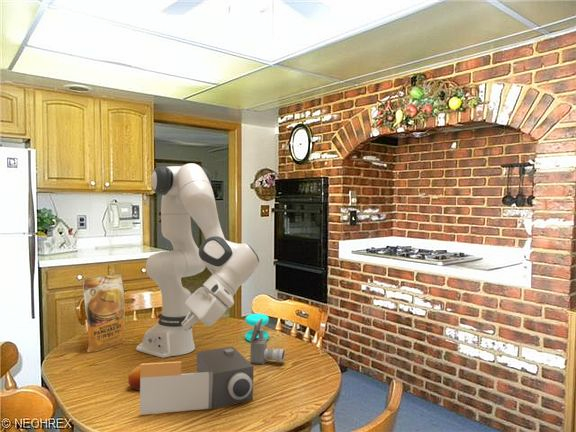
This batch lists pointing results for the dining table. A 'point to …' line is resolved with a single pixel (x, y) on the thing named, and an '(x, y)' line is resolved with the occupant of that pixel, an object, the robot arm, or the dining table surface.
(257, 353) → the camera
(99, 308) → the pancake mix bag
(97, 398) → the dining table surface
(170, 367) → the side door
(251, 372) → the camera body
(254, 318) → the turquoise spool
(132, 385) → the fruit
